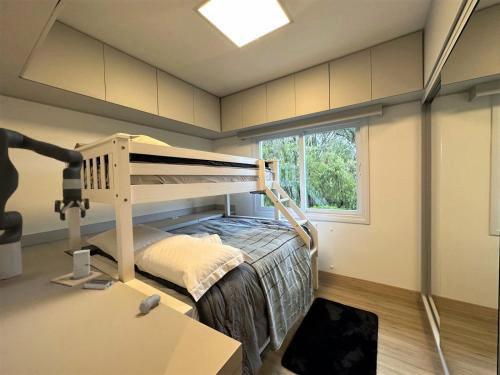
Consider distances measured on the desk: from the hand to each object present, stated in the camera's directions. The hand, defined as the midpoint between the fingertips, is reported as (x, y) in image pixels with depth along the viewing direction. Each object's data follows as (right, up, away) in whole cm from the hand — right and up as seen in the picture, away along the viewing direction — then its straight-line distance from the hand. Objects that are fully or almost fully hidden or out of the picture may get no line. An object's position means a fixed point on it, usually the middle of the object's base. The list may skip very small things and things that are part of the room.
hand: (73, 219), depth 106 cm
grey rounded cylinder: (+56, -27, -33) cm, 71 cm away
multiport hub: (+25, -28, -16) cm, 41 cm away
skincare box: (+9, -27, -6) cm, 29 cm away
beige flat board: (+8, -28, -6) cm, 30 cm away
